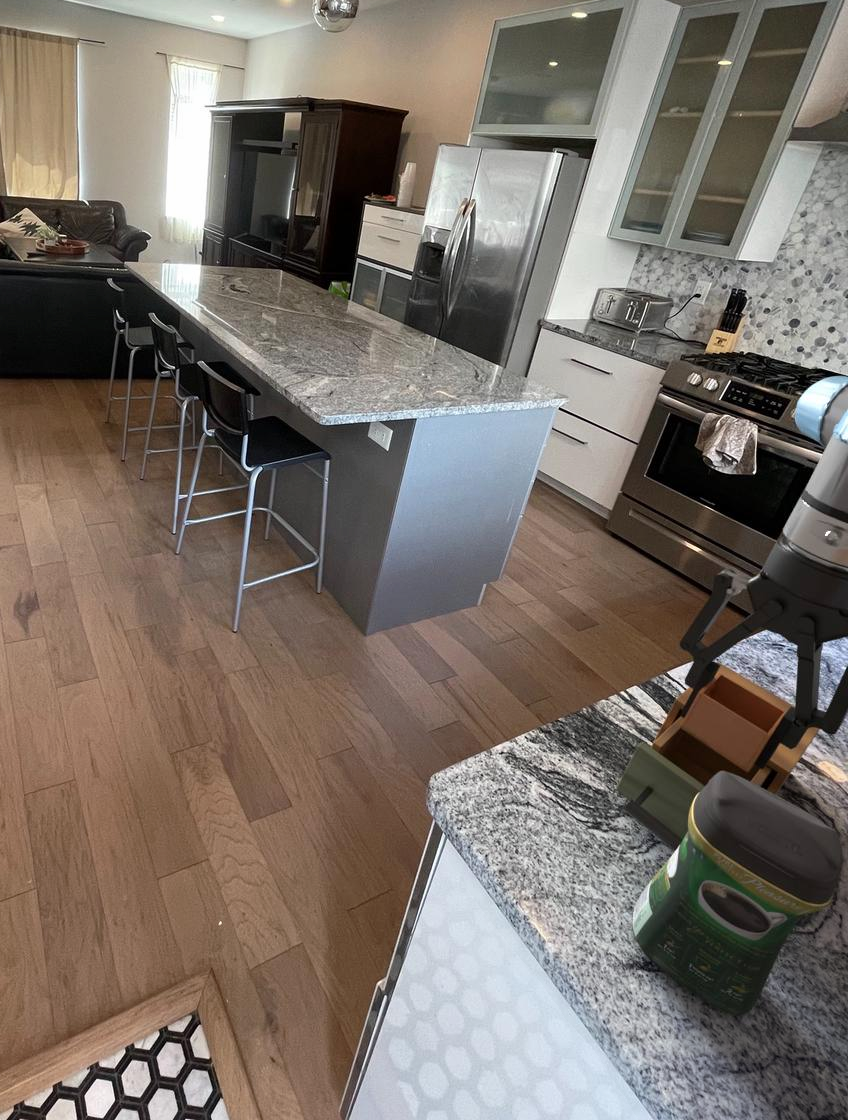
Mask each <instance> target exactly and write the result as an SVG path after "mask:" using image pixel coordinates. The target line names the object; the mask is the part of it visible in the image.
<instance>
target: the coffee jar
mask: <svg viewBox="0 0 848 1120" xmlns="http://www.w3.org/2000/svg"><path fill="white" fill-rule="evenodd" d="M843 860H844V855H843V847H842V841H841V838H840V835H839V833H838V832H837V831H836V830H835V829H834V828H832V827H829V826H828V825H827V824H826V823H825V822H823V821H821V820H820V819H818V818H817V817H815V816H814V815H812V814H811V813H809V812H807V811H806V810H804V809H802V808H800V807H799V806H797V805H795V804H793V803H791V802H790V801H788V800H786V799H784V798H782V797H780V796H778V795H775V794H773V793H771V792H769V791H767V790H765V789H763V788H761V787H759V786H757V785H755V784H753V783H751V782H750V781H748V780H746V779H744V778H742V777H739V776H737V775H734V774H732V773H728V772H726V771H720V772H718V773H717V774H716V775H714V776H713V778H712V779H710V780H709V782H708V784H707V785H706V786H705V787H704V788H703V789H702V790H701V792H699V793H698V794H697V795H696V797H695V799H694V800H693V803H692V805H691V808H690V811H689V817H688V832H687V834H686V835H685V837H684V839H683V841H682V842H681V844H680V845H679V847H678V848H677V850H676V851H674V852H673V853H672V855H671V856H670V857H669V858H668V860H667V861H666V862H665V863H664V864H663V866H661V868H660V870H658V872H657V873H656V874H655V875H654V876H653V877H652V878H651V880H650V881H649V882H648V884H647V885H646V886H645V887H644V889H643V891H642V892H641V894H640V896H639V897H638V899H637V901H636V903H635V905H634V908H633V913H632V921H631V922H632V924H631V925H632V932H633V936H634V938H635V941H636V943H637V944H638V947H639V949H640V950H641V951H642V952H643V954H644V955H645V956H646V957H647V958H648V959H649V960H650V961H651V962H652V963H653V964H654V965H655V966H656V967H657V968H658V969H660V970H661V971H662V972H663V973H665V974H666V975H667V976H668V977H670V978H671V979H672V980H674V981H675V982H676V983H678V984H679V985H681V986H682V987H683V988H684V989H686V990H687V991H689V992H690V993H692V994H693V995H694V996H696V997H697V998H699V999H700V1000H701V1001H704V1002H705V1003H707V1004H708V1005H710V1006H712V1007H713V1008H715V1009H717V1010H719V1011H721V1012H723V1013H724V1014H728V1015H731V1016H743V1015H747V1014H748V1013H749V1012H751V1011H752V1009H753V1008H754V1006H755V1005H756V1003H757V1002H758V1000H759V998H760V996H761V994H762V992H763V990H764V989H765V986H766V984H767V982H768V979H769V976H770V974H771V972H772V970H773V967H774V966H775V963H776V960H777V958H778V957H779V954H780V952H781V950H782V948H783V946H784V945H785V943H786V941H787V939H788V937H789V935H790V934H791V932H792V931H793V929H794V928H795V927H796V925H797V924H798V923H799V921H800V920H801V919H802V918H804V917H805V916H808V915H810V914H813V913H816V912H819V911H821V910H822V909H825V908H826V907H827V906H828V905H829V903H830V902H831V901H832V898H833V895H834V892H835V890H836V886H838V883H839V880H840V877H841V873H842V869H843V862H844V861H843Z"/></svg>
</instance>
